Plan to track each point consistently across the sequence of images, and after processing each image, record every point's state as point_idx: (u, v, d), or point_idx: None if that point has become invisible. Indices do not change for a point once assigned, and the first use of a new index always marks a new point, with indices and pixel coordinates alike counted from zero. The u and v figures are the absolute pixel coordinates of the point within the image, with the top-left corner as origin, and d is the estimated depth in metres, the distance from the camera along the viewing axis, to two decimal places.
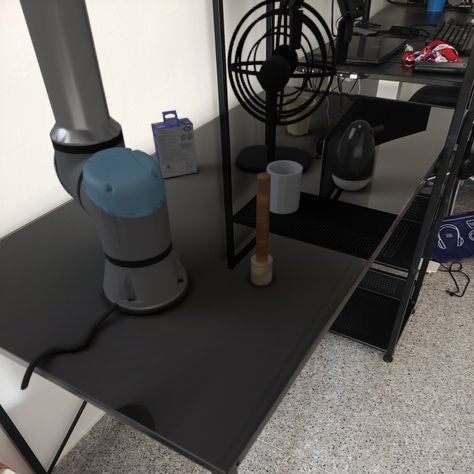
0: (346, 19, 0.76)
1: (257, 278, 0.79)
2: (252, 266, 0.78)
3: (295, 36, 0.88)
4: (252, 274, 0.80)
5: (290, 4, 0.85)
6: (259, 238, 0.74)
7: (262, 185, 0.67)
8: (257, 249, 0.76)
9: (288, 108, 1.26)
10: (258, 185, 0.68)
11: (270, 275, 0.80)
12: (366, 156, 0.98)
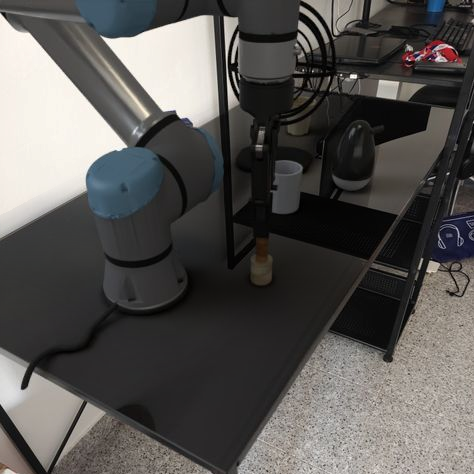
0: None
1: (257, 277, 0.79)
2: (252, 266, 0.78)
3: None
4: (252, 274, 0.80)
5: None
6: (259, 238, 0.74)
7: None
8: (257, 249, 0.76)
9: None
10: None
11: (270, 275, 0.80)
12: (366, 156, 0.98)
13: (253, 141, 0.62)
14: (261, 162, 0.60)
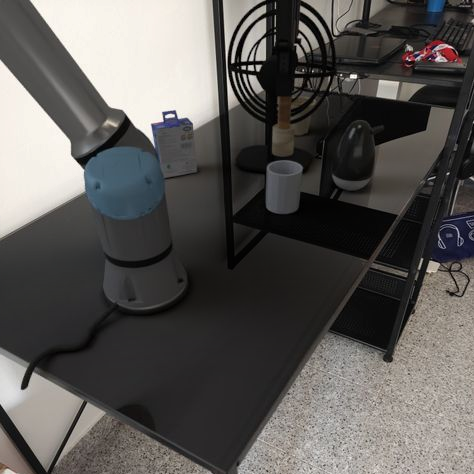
0: (276, 50, 0.67)
1: (279, 147, 0.78)
2: (274, 134, 0.78)
3: None
4: (274, 144, 0.79)
5: None
6: (282, 98, 0.74)
7: None
8: (279, 113, 0.75)
9: None
10: None
11: (292, 145, 0.79)
12: (366, 156, 0.98)
13: None
14: None
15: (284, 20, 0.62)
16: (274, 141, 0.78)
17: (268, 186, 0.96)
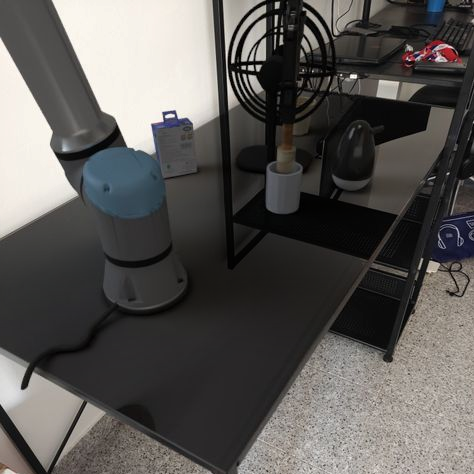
0: (282, 87, 0.81)
1: (283, 165, 0.92)
2: (278, 154, 0.92)
3: None
4: (278, 162, 0.93)
5: None
6: (286, 125, 0.88)
7: None
8: (283, 137, 0.89)
9: None
10: None
11: (293, 163, 0.93)
12: (366, 156, 0.98)
13: None
14: (292, 42, 0.74)
15: (289, 65, 0.76)
16: (278, 160, 0.92)
17: (268, 186, 0.96)
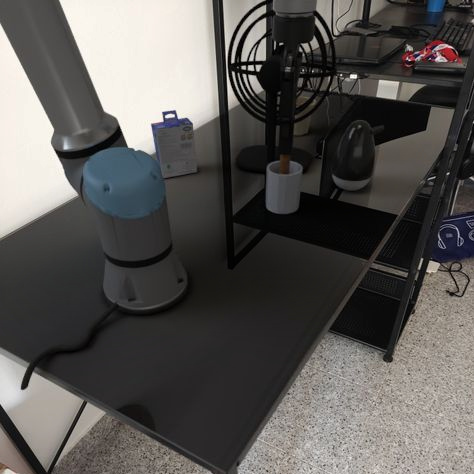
0: (279, 121, 0.86)
1: None
2: None
3: None
4: None
5: None
6: (283, 156, 0.92)
7: None
8: (281, 166, 0.94)
9: None
10: None
11: None
12: (366, 156, 0.98)
13: None
14: (289, 82, 0.78)
15: (286, 103, 0.81)
16: None
17: (268, 186, 0.96)
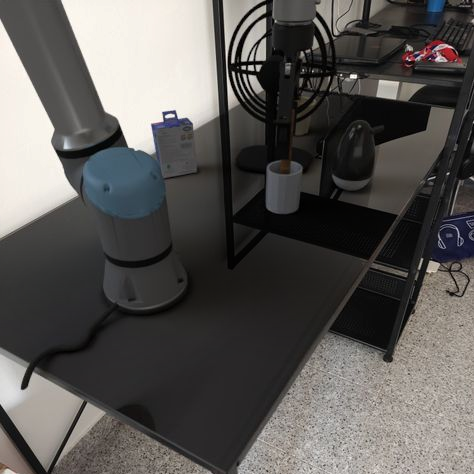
0: None
1: None
2: None
3: None
4: None
5: None
6: (283, 165, 0.93)
7: None
8: None
9: None
10: None
11: None
12: (366, 156, 0.98)
13: None
14: (288, 79, 0.76)
15: (285, 101, 0.78)
16: None
17: (268, 186, 0.96)
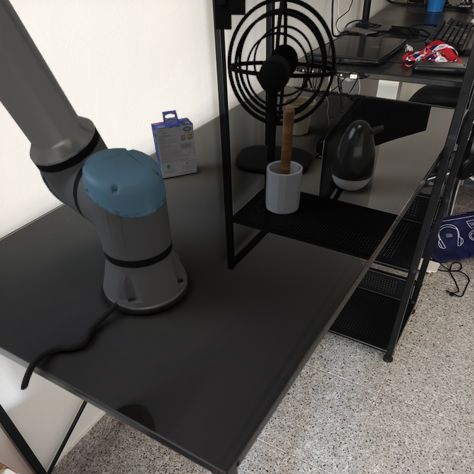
0: None
1: None
2: None
3: None
4: None
5: None
6: (283, 165, 0.93)
7: (288, 118, 0.86)
8: None
9: None
10: (284, 118, 0.87)
11: None
12: (366, 156, 0.98)
13: None
14: None
15: None
16: None
17: (268, 186, 0.96)
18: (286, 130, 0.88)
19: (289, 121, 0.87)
